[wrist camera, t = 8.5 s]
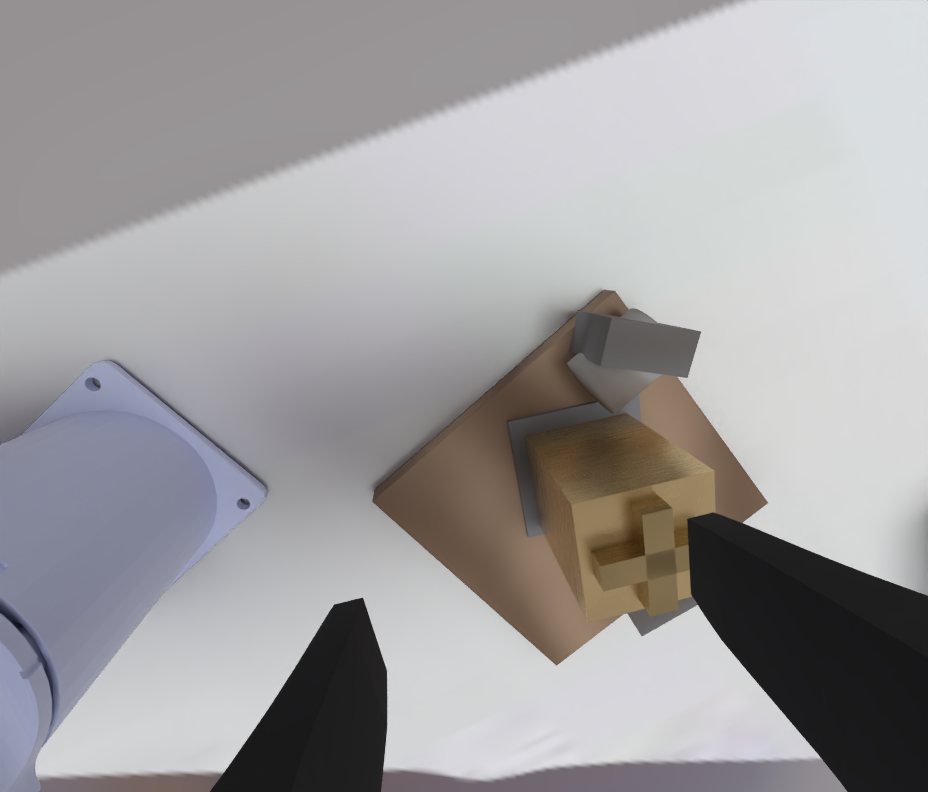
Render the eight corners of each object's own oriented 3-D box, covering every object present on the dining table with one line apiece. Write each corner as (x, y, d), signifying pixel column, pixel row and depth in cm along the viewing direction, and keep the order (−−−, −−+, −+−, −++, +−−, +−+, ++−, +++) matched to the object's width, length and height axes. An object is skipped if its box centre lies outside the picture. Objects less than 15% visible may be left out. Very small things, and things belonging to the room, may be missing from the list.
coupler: (634, 503, 19) (732, 606, 13) (539, 526, 19) (596, 641, 13) (626, 412, 18) (730, 481, 12) (524, 436, 18) (580, 517, 12)
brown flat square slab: (550, 649, 23) (578, 725, 19) (368, 484, 19) (356, 538, 15) (760, 486, 21) (836, 532, 17) (608, 274, 17) (662, 274, 14)
